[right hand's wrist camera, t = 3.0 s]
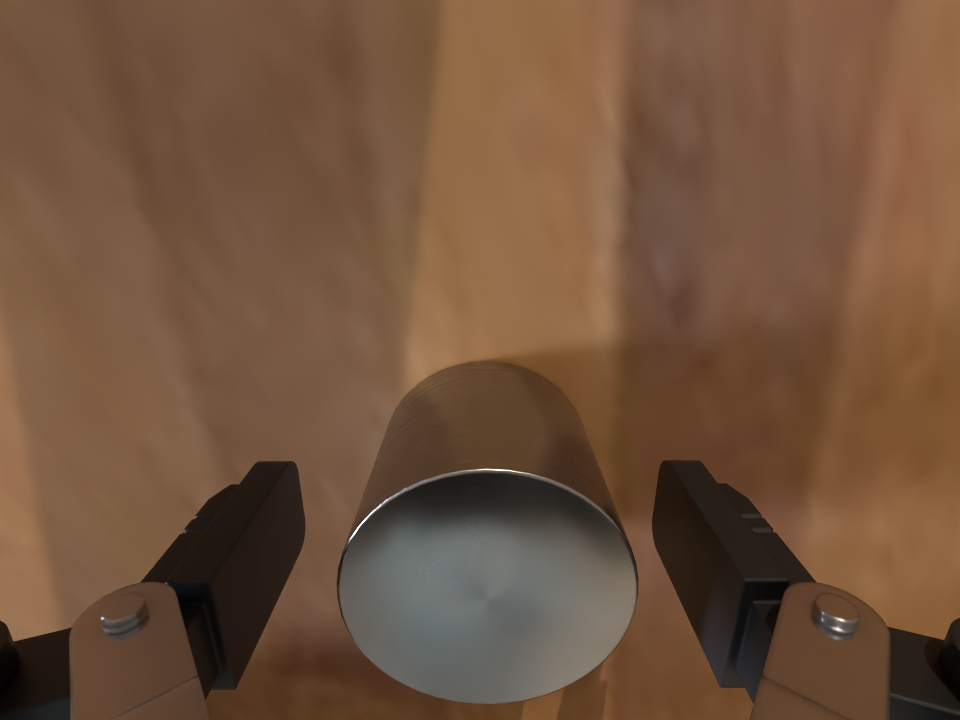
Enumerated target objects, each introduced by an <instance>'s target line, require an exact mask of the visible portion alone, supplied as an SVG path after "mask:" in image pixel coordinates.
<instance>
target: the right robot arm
mask: <svg viewBox="0 0 960 720" xmlns="http://www.w3.org/2000/svg"><path fill="white" fill-rule="evenodd" d="M652 532H653V539H654V543H655V547H656V549H657V552H658V554H659V556H660V558H661V560H662V563H663V565H664V567H665V569H666V571H667V573H668V575H669V578H670V580H671V582H672V584H673V586H674V588H675V591H676V593H677V595H678V597H679V599H680V601H681V603H682V606H683V608H684V610H685V612H686V614H687V616H688V619H689V621H690V623H691V625H692V627H693V629H694V631H695V634H696V636H697V638H698V640H699V642H700V644H701V646H702V649H703V651H704V653H705V655H706V657H707V659H708V662H709V664H710V666H711V668H712V670H713V672H714V674H715V677H716V679H717V681H718V683H719V685H720V687H721V688H746V690H747V692H748V694H749V696H750V698H751V700H752V702H753V704H754V705H753V709H752V713H751V717H750V720H960V618H958V619H956V620H954V621H953V622H952V623H951V625H950V627H949V630H948V632H947V635H946V637H945V640H941V639H937V638H932V637H928V636H924V635H920V634H916V633H911V632H907V631H903V630H899V629H895V628H890V627H887V625H886V624H885V622H884V620H883V619H882V618H881V617H880V616H879V614H878V613H877V612H876V611H874V610H873V609H872V608H871V607H870V606H869V605H867V604H866V603H865V602H863V601H862V600H860V599H859V598H857V597H856V596H854V595H852V594H850V593H848V592H846V591H844V590H841V589H839V588H836V587H833V586H830V585H826V584H822V583H817V582H816V581H815V580H814V579H813V578H812V576H811V575H810V574H809V573H808V571H807V570H806V569H805V568H804V567H803V565H802V564H801V563H800V562H799V560H798V559H797V558H796V557H795V555H794V554H793V553H792V552H791V551H790V549H789V548H788V547H787V546H786V544H785V543H784V542H783V541H782V540H781V538H780V537H779V536H778V535H777V533H773V529H772V527H771V526H770V525H769V524H768V522H767V521H766V520H765V519H764V518H762V517H761V514H760V513H759V511H758V510H757V509H756V508H755V506H754V505H753V504H752V503H751V502H750V500H749V499H748V498H747V497H745V496H744V495H742V494H741V493H739V492H738V491H737V490H735V489H734V488H732V487H731V486H729V485H728V484H718V483H717V482H716V481H715V479H714V478H713V477H712V476H711V474H710V473H709V472H708V470H707V469H706V468H705V466H704V465H703V464H702V463H701V462H700V461H698V460H665V461H663V462H662V463H661V465H660V469H659V475H658V482H657V489H656V497H655V504H654V511H653V518H652ZM304 536H305V516H304V509H303V502H302V495H301V488H300V481H299V474H298V469H297V466H296V464H295V463H294V462H292V461H259V462H257V463H255V465H254V466H253V467H252V468H251V470H250V471H249V472H248V474H247V475H246V476H245V478H244V479H243V480H242V481H241V483H240V484H239V485H229V486H228V487H226V488H225V489H223V490H222V491H220V492H219V493H217V494H216V495H214V496H213V497H211V498H210V499H209V500H208V501H207V502H206V503H205V505H204V506H203V507H202V508H201V509H200V511H199V512H198V513H197V514H196V516H195V520H191V522H190V523H189V524H188V525H187V526H186V528H185V529H184V530H183V534H180V535H179V536H178V537H177V539H176V540H175V541H174V542H173V544H172V545H171V546H170V547H169V548H168V550H167V551H166V552H165V553H164V554H163V556H162V557H161V558H160V559H159V561H158V562H157V563H156V564H155V565H154V567H153V568H152V569H151V570H150V571H149V573H148V574H147V575H146V576H145V578H144V579H143V580H142V581H141V582H140V583H138V584H134V585H130V586H127V587H124V588H121V589H119V590H116V591H114V592H112V593H110V594H108V595H106V596H104V597H103V598H101V599H100V600H98V601H97V602H95V603H94V604H93V605H91V606H90V607H89V608H88V609H87V610H86V611H84V612H83V613H82V614H81V616H80V617H79V618H78V619H77V620H76V622H75V624H74V625H73V627H72V628H68V629H65V630H61V631H56V632H52V633H48V634H44V635H40V636H36V637H31V638H27V639H23V640H19V641H15V642H13V639H12V637H11V634H10V632H9V630H8V627H7V626H6V624H5V623H4V622H2V621H0V720H210V717H209V713H208V709H207V705H206V702H205V700H206V698H207V696H208V694H209V692H210V690H236V687H237V685H238V683H239V681H240V679H241V677H242V675H243V673H244V670H245V668H246V666H247V664H248V662H249V660H250V658H251V656H252V653H253V651H254V649H255V647H256V645H257V643H258V641H259V639H260V636H261V634H262V632H263V630H264V628H265V626H266V624H267V622H268V619H269V617H270V615H271V613H272V611H273V609H274V607H275V605H276V602H277V600H278V598H279V596H280V594H281V592H282V590H283V588H284V585H285V583H286V581H287V579H288V577H289V575H290V573H291V571H292V568H293V566H294V564H295V562H296V560H297V558H298V556H299V553H300V551H301V549H302V546H303V542H304Z"/></svg>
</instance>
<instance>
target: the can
mask: <svg viewBox="0 0 960 720" xmlns="http://www.w3.org/2000/svg"><path fill="white" fill-rule="evenodd" d="M337 595H338V602H339V607H340V611H341V615H342V618H343V620H344V623H345V625H346V628H347V630H348V632H349V634H350V635H351V637H352V639H353V640H354V642H355V644H356V645H357V646H358V647H359V649H360V650H361V651H362V652H363V653H364V655H365V656H366V657H367V658H368V659H369V660H370V661H371V662H372V663H373V664H375V665H376V666H377V667H378V668H379V669H381V670H382V671H383V672H385V673H386V674H387V675H389V676H390V677H392V678H393V679H395V680H397V681H398V682H400V683H402V684H404V685H405V686H408V687H410V688H412V689H414V690H417V691H419V692H421V693H424V694H427V695H431V696H434V697H437V698H441V699H445V700H450V701H454V702H462V703H470V704H503V703H512V702H519V701H525V700H529V699H533V698H537V697H541V696H544V695H547V694H550V693H552V692H555V691H558V690H560V689H562V688H564V687H566V686H569V685H571V684H573V683H575V682H576V681H578V680H579V679H581V678H583V677H584V676H586V675H587V674H589V673H590V672H591V671H593V670H594V669H595V668H596V667H598V666H599V665H600V664H601V663H602V662H603V661H604V660H605V659H606V658H607V657H608V656H609V655H610V654H611V653H612V652H613V651H614V650H615V648H616V647H617V646H618V644H619V643H620V642H621V640H622V639H623V637H624V635H625V633H626V631H627V630H628V628H629V626H630V623H631V620H632V618H633V615H634V612H635V607H636V602H637V597H638V573H637V566H636V561H635V558H634V555H633V552H632V549H631V546H630V544H629V541H628V539H627V536H626V534H625V531H624V529H623V526H622V523H621V521H620V518H619V516H618V513H617V511H616V508H615V506H614V503H613V501H612V498H611V496H610V493H609V491H608V488H607V486H606V483H605V480H604V478H603V475H602V473H601V470H600V468H599V465H598V463H597V460H596V458H595V455H594V453H593V450H592V448H591V445H590V442H589V440H588V437H587V435H586V432H585V430H584V427H583V425H582V422H581V420H580V418H579V416H578V414H577V412H576V410H575V408H574V407H573V405H572V404H571V402H570V401H569V399H568V398H567V397H566V396H565V395H564V394H563V393H562V392H561V391H560V390H559V389H558V388H557V387H556V386H555V385H553V384H552V383H551V382H550V381H548V380H547V379H545V378H543V377H542V376H540V375H538V374H537V373H534V372H532V371H530V370H528V369H525V368H522V367H519V366H515V365H512V364H507V363H501V362H486V361H482V362H470V363H465V364H460V365H455V366H452V367H449V368H446V369H443V370H441V371H439V372H437V373H435V374H433V375H431V376H429V377H428V378H426V379H425V380H423V381H422V382H420V383H419V384H418V385H416V386H415V387H414V388H413V389H412V390H411V391H409V393H408V394H407V395H406V396H405V397H404V398H403V399H402V401H401V402H400V403H399V405H398V407H397V408H396V410H395V411H394V413H393V415H392V418H391V420H390V422H389V424H388V427H387V430H386V433H385V436H384V438H383V441H382V444H381V447H380V450H379V452H378V455H377V458H376V461H375V464H374V466H373V469H372V472H371V475H370V478H369V480H368V483H367V486H366V489H365V491H364V494H363V497H362V500H361V503H360V505H359V508H358V511H357V514H356V517H355V519H354V522H353V525H352V528H351V531H350V533H349V536H348V539H347V542H346V545H345V547H344V550H343V553H342V557H341V560H340V564H339V567H338V576H337Z"/></svg>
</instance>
